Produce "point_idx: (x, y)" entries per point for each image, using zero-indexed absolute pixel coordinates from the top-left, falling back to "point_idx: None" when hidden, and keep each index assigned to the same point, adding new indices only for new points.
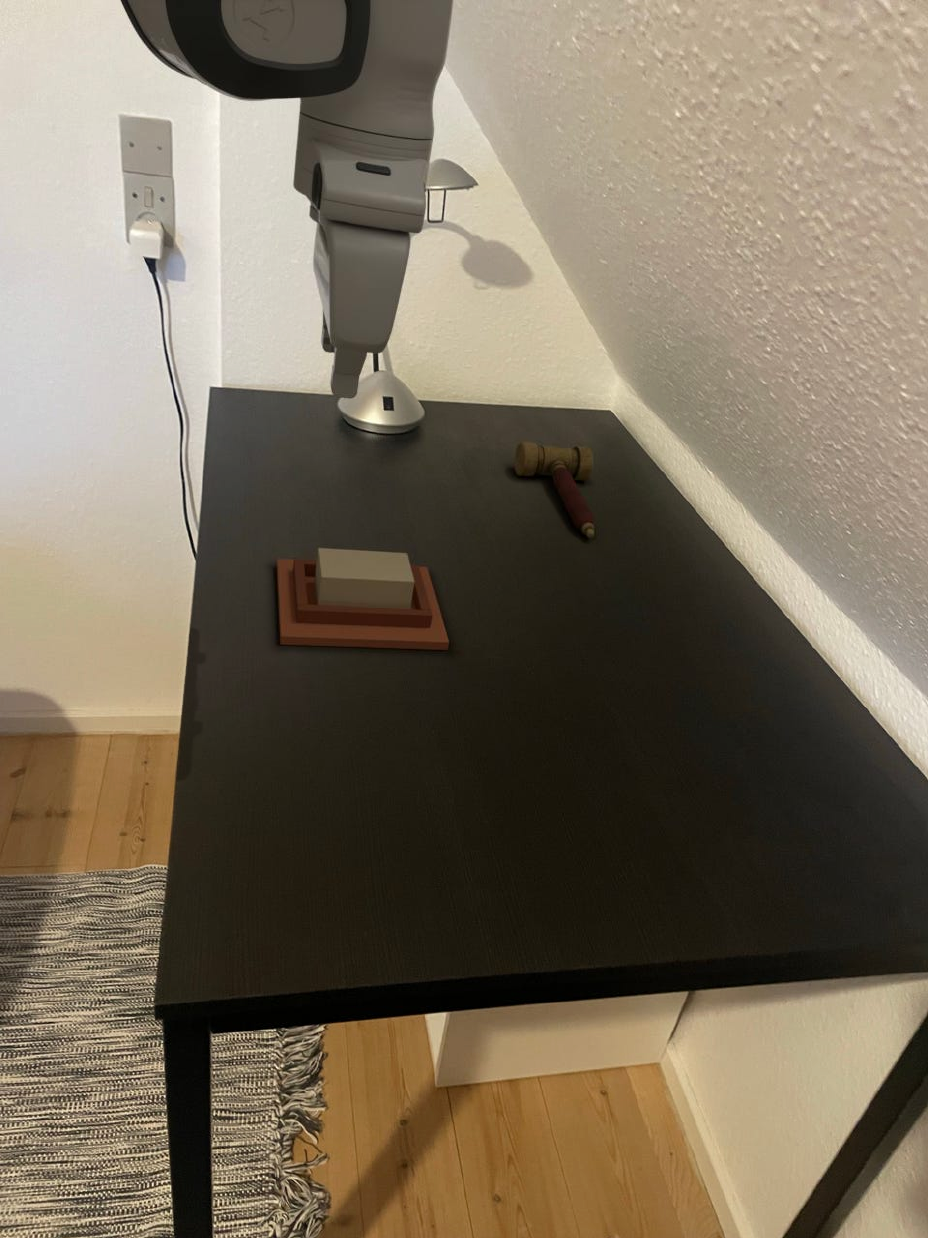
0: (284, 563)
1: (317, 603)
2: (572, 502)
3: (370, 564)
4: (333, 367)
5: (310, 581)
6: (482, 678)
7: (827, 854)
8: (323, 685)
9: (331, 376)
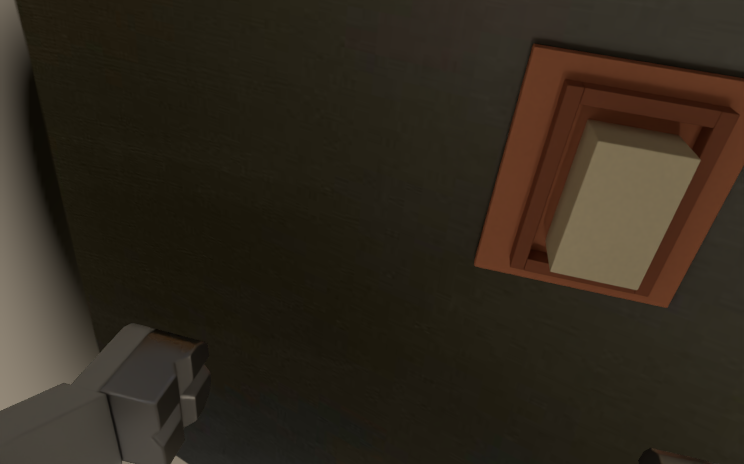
0: None
1: (603, 123)
2: None
3: (616, 227)
4: (77, 396)
5: (682, 128)
6: (414, 274)
7: None
8: (427, 85)
9: (161, 366)
